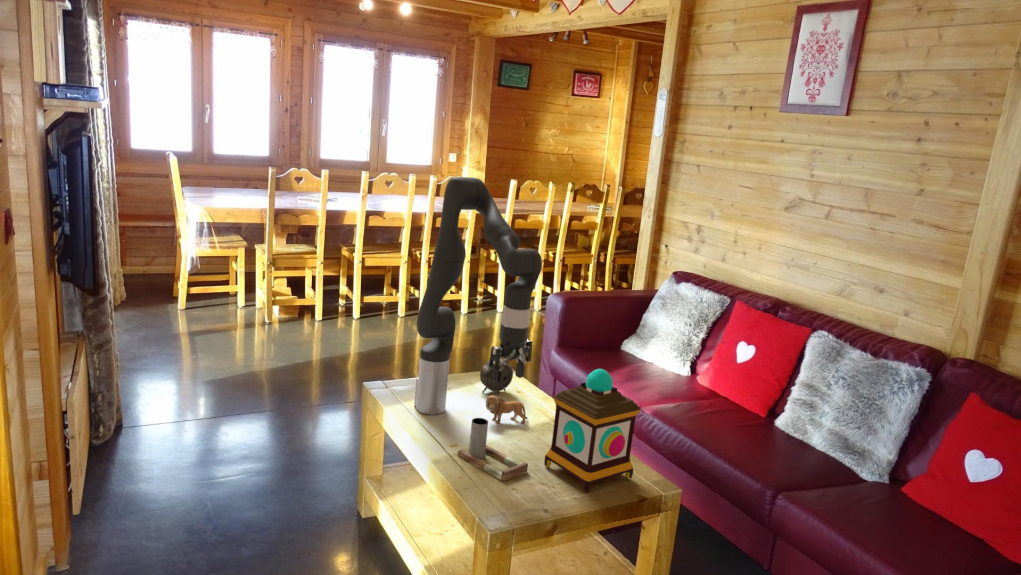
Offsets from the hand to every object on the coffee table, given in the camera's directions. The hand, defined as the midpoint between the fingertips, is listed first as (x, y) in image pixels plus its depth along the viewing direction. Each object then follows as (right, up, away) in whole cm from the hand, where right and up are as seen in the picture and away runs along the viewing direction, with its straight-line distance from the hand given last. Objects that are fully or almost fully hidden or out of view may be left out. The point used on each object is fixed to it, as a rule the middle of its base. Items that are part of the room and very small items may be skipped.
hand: (508, 379), depth 199 cm
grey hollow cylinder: (-9, -22, +5) cm, 24 cm away
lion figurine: (-1, -17, +30) cm, 34 cm away
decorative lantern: (+22, -26, +1) cm, 34 cm away
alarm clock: (-5, -11, +53) cm, 54 cm away
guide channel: (-4, -23, +1) cm, 23 cm away
